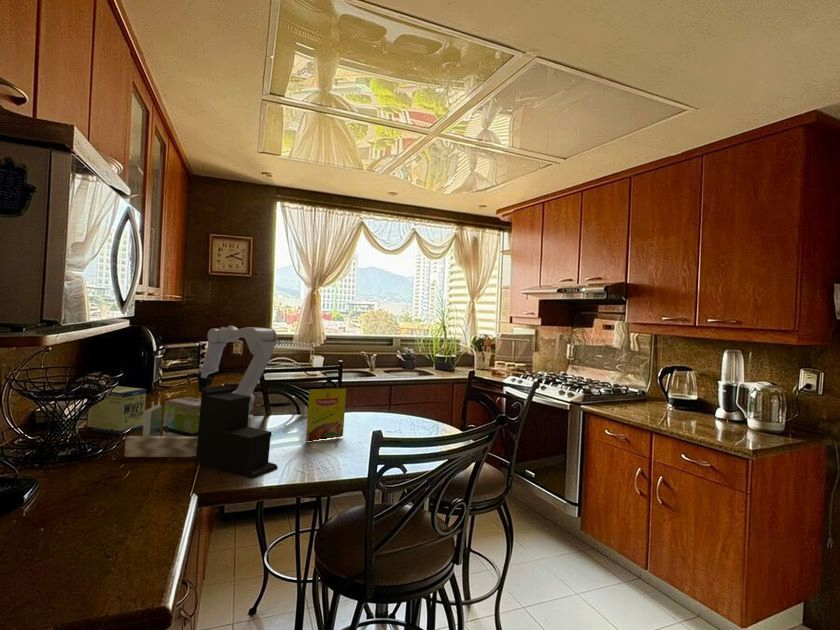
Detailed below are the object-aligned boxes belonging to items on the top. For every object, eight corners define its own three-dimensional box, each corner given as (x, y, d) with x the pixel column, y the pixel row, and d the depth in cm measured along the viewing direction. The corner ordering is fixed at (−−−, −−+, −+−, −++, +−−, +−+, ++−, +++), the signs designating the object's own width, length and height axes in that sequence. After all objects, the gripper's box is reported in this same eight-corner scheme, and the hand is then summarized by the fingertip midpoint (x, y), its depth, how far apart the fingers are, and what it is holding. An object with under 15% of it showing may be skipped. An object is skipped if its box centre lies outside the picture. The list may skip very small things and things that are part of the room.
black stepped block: (278, 469, 134) (283, 392, 135) (251, 479, 124) (257, 397, 125) (223, 455, 144) (228, 384, 144) (194, 464, 134) (200, 387, 134)
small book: (159, 446, 148) (162, 405, 148) (148, 454, 139) (151, 411, 139) (152, 446, 148) (155, 405, 148) (141, 454, 139) (144, 410, 139)
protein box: (120, 435, 158) (124, 392, 159) (85, 430, 162) (89, 388, 162) (144, 429, 169) (147, 388, 169) (110, 424, 172) (114, 385, 172)
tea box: (160, 441, 154) (163, 399, 155) (185, 435, 164) (188, 396, 164) (190, 448, 149) (194, 405, 149) (215, 441, 158) (218, 401, 158)
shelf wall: (214, 455, 143) (216, 436, 143) (213, 457, 141) (214, 438, 141) (127, 454, 138) (128, 435, 138) (124, 456, 136) (125, 437, 136)
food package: (306, 443, 163) (310, 389, 164) (305, 442, 164) (308, 389, 165) (343, 439, 172) (346, 388, 173) (342, 438, 173) (345, 388, 174)
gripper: (208, 349, 180) (199, 379, 182) (196, 359, 166) (187, 392, 168) (225, 354, 181) (217, 383, 183) (215, 364, 167) (206, 396, 169)
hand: (204, 388), depth 176 cm, fingers open, 7 cm apart
